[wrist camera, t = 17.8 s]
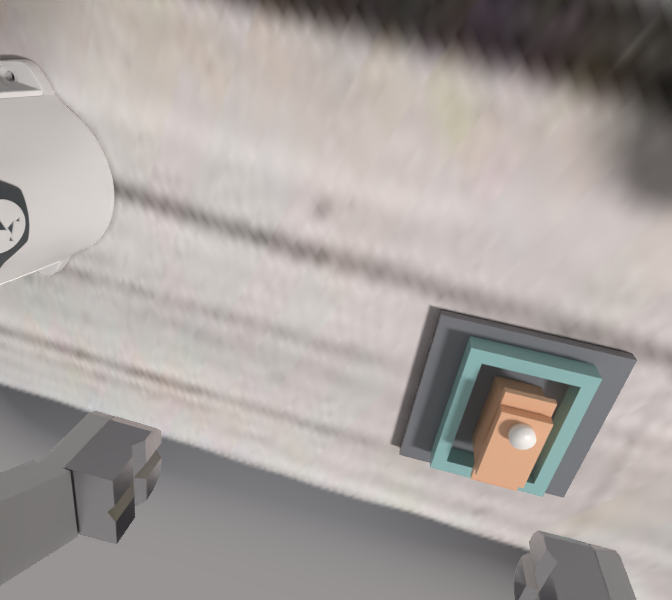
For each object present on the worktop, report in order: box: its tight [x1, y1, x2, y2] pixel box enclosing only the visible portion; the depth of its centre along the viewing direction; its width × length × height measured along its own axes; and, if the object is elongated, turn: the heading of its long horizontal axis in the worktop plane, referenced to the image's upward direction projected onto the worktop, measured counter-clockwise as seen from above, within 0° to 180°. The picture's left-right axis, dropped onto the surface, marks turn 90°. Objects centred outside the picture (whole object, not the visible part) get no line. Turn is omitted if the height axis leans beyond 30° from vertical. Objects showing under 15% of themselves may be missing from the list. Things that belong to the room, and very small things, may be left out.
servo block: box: [470, 376, 557, 491], centre depth 42 cm, size 4×10×6 cm, turn 171°
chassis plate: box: [399, 310, 637, 498], centre depth 44 cm, size 16×16×3 cm
